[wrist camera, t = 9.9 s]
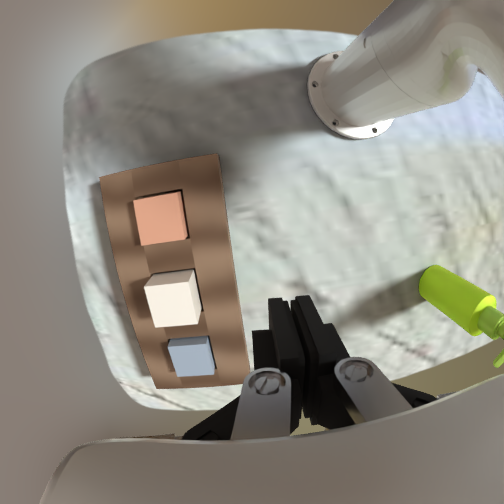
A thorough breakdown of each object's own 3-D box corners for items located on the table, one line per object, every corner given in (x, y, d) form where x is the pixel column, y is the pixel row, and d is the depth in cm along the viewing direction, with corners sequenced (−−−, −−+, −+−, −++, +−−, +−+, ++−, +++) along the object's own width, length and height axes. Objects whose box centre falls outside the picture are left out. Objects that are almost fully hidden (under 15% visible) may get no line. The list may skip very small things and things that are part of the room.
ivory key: (153, 274, 32) (143, 286, 28) (193, 269, 32) (188, 281, 28) (163, 311, 34) (155, 327, 30) (201, 307, 34) (197, 324, 30)
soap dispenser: (409, 294, 39) (491, 363, 20) (432, 258, 38) (524, 309, 18) (427, 309, 40) (502, 373, 21) (449, 275, 39) (532, 327, 19)
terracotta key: (144, 197, 32) (133, 200, 28) (184, 190, 32) (177, 192, 28) (151, 237, 33) (141, 245, 29) (190, 232, 33) (184, 239, 29)
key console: (113, 176, 32) (99, 177, 28) (219, 156, 32) (217, 153, 29) (161, 372, 40) (156, 388, 36) (249, 366, 40) (251, 382, 37)
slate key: (173, 330, 37) (167, 346, 33) (209, 327, 37) (206, 343, 33) (181, 359, 38) (177, 376, 34) (215, 357, 38) (214, 374, 34)
